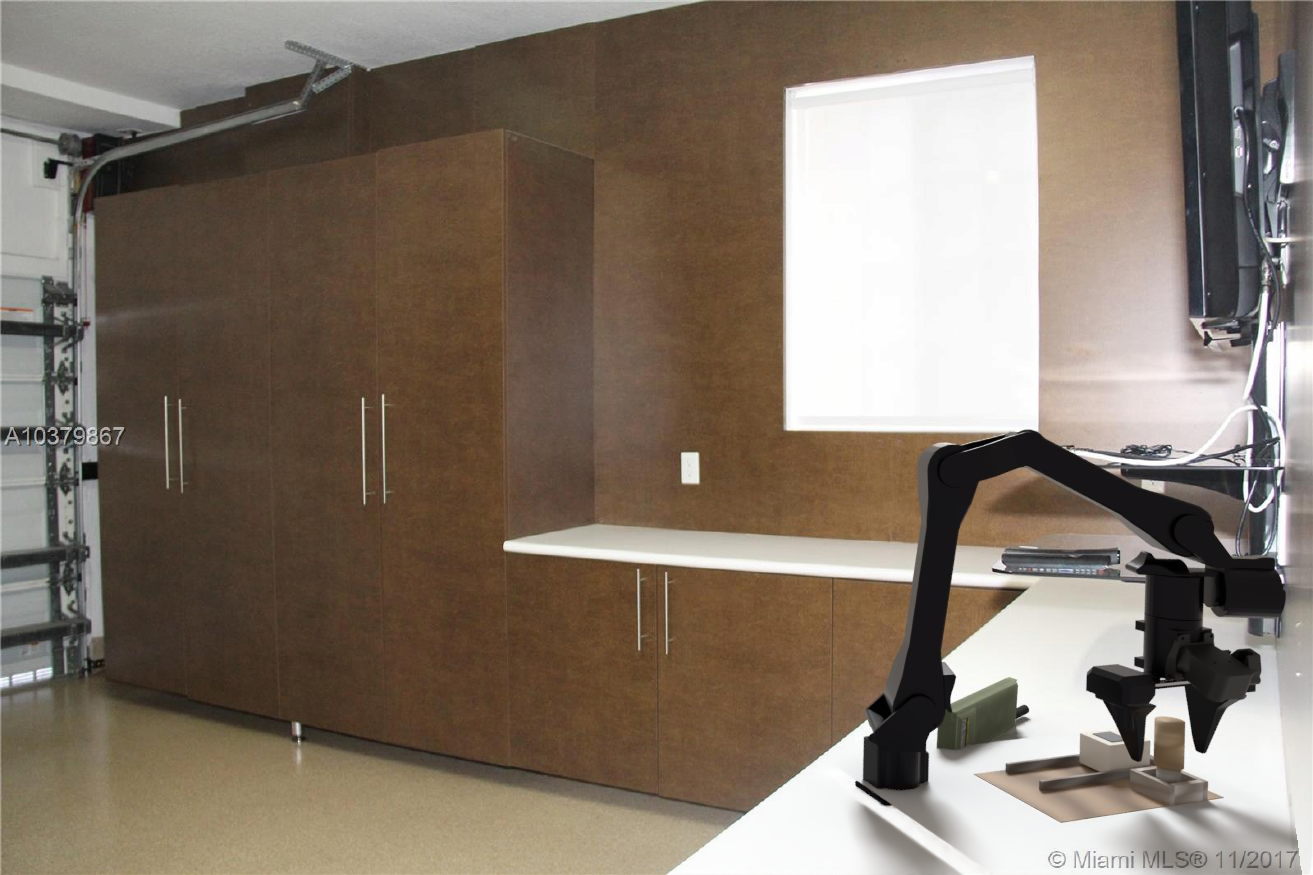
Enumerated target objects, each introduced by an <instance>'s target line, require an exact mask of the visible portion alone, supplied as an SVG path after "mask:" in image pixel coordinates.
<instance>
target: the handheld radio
mask: <svg viewBox="0 0 1313 875" xmlns="http://www.w3.org/2000/svg"><path fill="white" fill-rule="evenodd" d="M1017 681H1018V679H1016V678H1014V677H1010V676H1009V677H1006V678H1003V679H1001V680H999V681H997V682H995V683H992V684H989V685H988V686H986V687H983V688H981V689H979V690H978V691H975V692H973V693H971V694H968V695H966V696H964V697H962V698H959V699H957V700H955V701H953V702H951V708H952V712H951V713H949V712H948V711H947V710H946V712H945V717H944V720H943V723H942V724H941V726H940V727H938V728H937V732H936V734H937V735H936V749H937V750H938V749H939V750H940V749H947V750H962V749H963V748H966V747H967V746H970V745H981V744H988V743H990V742H991V741H994V740H995V739H997V738H998V737H1001V736H1002V735H1004V734H1006V733H1008V732H1009V731H1011V730H1013V729H1015V728H1016V724H1017V722H1016V721H1017V719H1019V718H1021V717H1023V716H1025V715H1027V714H1029V712H1030V708H1029V706H1028V705H1026V704H1021V705H1020V706H1018V704H1017V703H1018V692H1019V691H1018V690H1019V689H1018V688H1019V684H1018V682H1017Z"/></svg>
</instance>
